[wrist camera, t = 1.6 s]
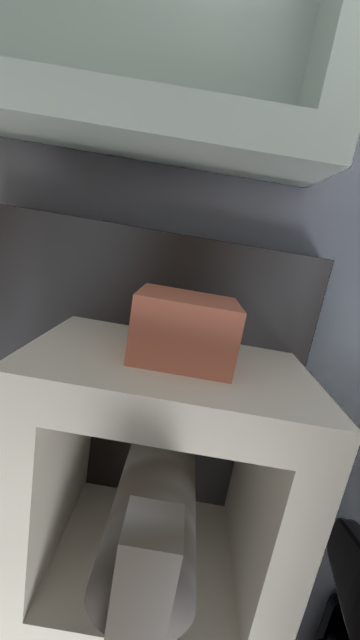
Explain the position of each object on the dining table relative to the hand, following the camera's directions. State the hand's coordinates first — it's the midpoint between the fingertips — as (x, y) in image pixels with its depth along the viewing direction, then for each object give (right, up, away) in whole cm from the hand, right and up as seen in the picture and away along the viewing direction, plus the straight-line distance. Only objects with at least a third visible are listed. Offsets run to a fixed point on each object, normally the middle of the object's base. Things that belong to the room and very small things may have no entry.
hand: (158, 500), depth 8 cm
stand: (-1, +3, +3) cm, 4 cm away
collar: (0, +1, +3) cm, 3 cm away
